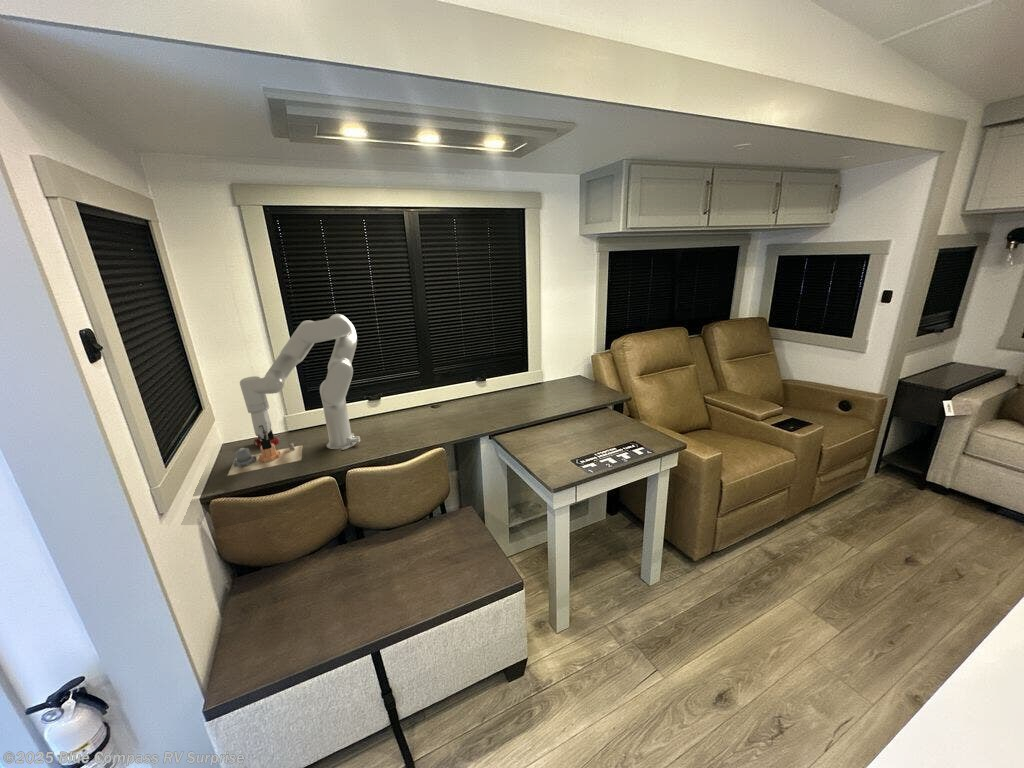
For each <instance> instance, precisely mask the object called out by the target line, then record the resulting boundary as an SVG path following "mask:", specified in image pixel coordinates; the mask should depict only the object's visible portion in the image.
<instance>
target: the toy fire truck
mask: <svg viewBox="0 0 1024 768" xmlns="http://www.w3.org/2000/svg"><path fill="white" fill-rule="evenodd" d="M270 443H273V444H274V445H275V446H276V445H279V443H280V442H279V439H278V438H277V437H275V436H274V439H272V440H270ZM253 444H254V445H255V446H257V447H259V448H260V447H261V446H262V445H261V442H260V435H258V436H257V438H256V439H254V440H253Z"/></svg>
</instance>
